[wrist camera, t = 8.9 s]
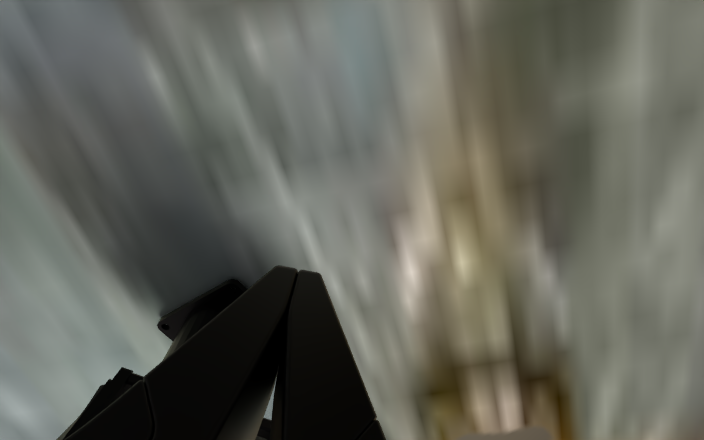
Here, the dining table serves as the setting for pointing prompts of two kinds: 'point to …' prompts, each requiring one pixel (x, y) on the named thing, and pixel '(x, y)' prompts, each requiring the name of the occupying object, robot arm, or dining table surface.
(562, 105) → the dining table surface
